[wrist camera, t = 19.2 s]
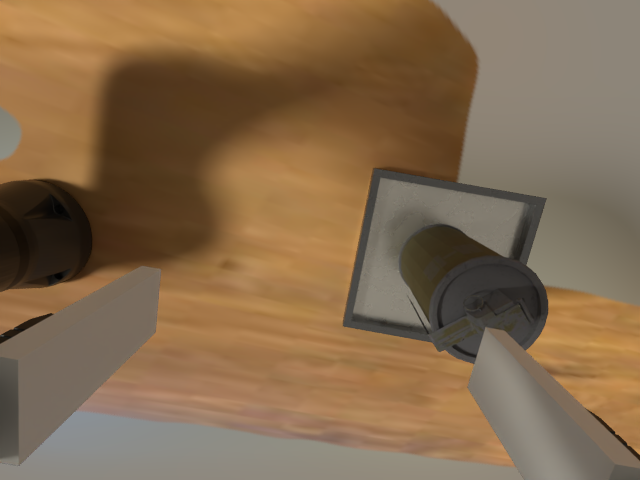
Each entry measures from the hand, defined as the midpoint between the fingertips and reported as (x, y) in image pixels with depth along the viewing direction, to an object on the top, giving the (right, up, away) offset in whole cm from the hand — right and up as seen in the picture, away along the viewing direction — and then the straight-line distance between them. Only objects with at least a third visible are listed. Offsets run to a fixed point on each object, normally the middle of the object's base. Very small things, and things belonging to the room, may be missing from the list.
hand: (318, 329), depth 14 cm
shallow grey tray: (+16, 0, +35) cm, 39 cm away
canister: (+16, 0, +35) cm, 38 cm away
